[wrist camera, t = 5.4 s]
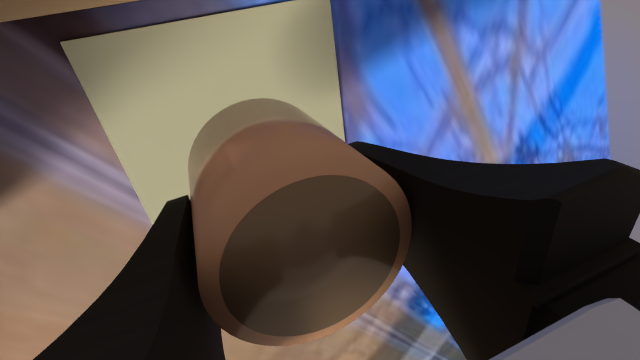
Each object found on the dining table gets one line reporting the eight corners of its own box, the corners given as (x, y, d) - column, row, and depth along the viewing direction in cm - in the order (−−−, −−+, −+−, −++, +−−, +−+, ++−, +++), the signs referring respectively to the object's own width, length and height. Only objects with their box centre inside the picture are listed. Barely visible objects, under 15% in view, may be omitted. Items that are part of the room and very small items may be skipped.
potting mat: (349, 191, 23) (350, 193, 23) (168, 254, 20) (168, 256, 20) (327, -6, 17) (329, -6, 17) (61, 41, 14) (59, 42, 14)
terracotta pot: (336, 199, 14) (419, 292, 9) (218, 247, 13) (244, 381, 8) (311, 79, 11) (406, 123, 7) (161, 125, 10) (151, 217, 6)
